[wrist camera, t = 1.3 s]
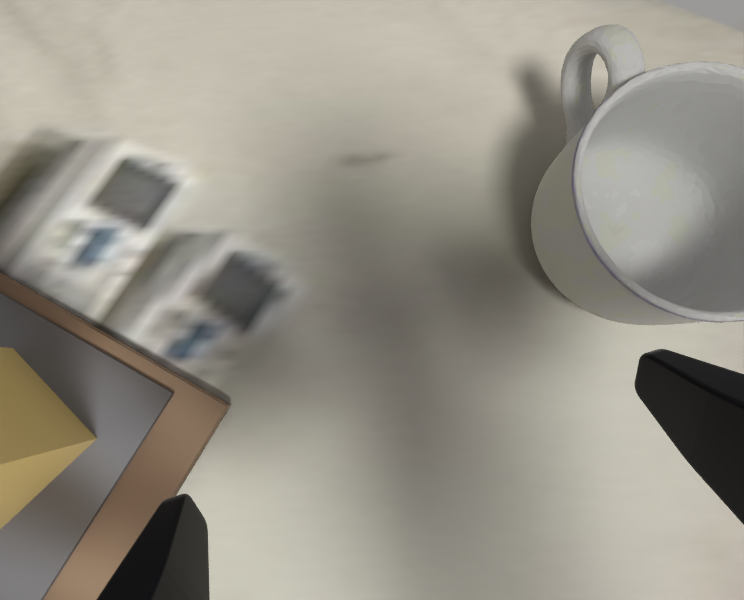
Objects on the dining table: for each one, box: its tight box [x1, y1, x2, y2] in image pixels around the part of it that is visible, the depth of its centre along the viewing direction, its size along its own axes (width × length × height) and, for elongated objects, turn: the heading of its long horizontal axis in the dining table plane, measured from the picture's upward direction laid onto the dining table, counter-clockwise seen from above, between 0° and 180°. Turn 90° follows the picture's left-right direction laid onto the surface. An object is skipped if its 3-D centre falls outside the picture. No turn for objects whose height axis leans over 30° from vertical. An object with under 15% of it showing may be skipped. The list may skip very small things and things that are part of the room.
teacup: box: [531, 25, 744, 325], centre depth 21 cm, size 14×11×8 cm
